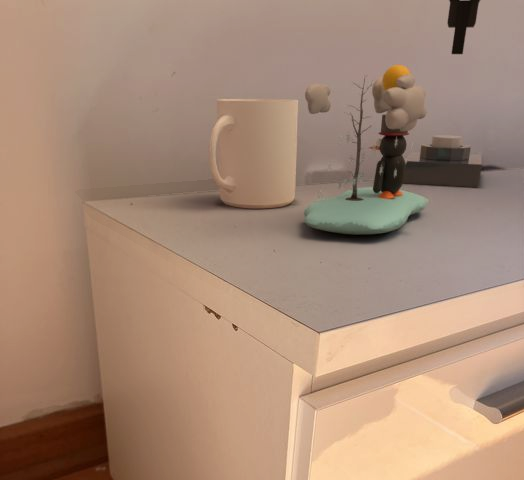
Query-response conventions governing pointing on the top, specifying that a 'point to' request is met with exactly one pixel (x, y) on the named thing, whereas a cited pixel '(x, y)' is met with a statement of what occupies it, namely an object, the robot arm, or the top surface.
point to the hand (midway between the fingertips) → (457, 53)
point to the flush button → (446, 141)
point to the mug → (255, 152)
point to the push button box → (443, 166)
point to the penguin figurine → (388, 168)
